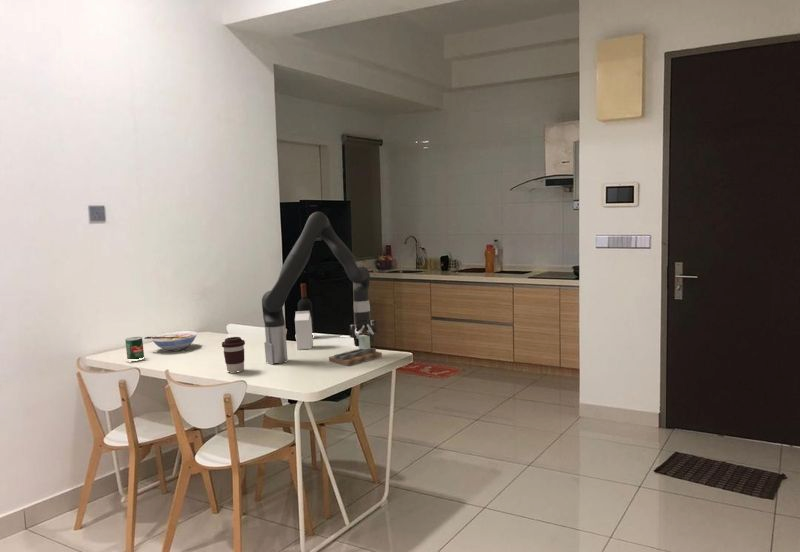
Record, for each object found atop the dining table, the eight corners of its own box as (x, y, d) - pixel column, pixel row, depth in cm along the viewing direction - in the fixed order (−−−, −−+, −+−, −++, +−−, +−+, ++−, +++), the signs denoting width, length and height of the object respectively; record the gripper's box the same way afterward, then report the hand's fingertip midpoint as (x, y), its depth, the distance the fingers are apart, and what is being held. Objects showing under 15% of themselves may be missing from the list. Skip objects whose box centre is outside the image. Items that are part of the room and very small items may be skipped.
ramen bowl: (208, 344, 343) (207, 329, 342) (184, 354, 321) (182, 339, 320) (168, 344, 350) (166, 329, 349) (141, 354, 328) (140, 339, 327)
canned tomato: (138, 362, 311) (135, 340, 310) (124, 362, 313) (121, 340, 311) (147, 358, 319) (145, 336, 318) (133, 358, 320) (131, 336, 319)
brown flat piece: (347, 366, 280) (347, 358, 280) (329, 361, 291) (328, 353, 290) (381, 356, 294) (381, 349, 293) (362, 352, 304) (362, 345, 304)
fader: (365, 353, 293) (364, 337, 292) (358, 351, 296) (357, 335, 296) (370, 352, 295) (369, 335, 294) (363, 350, 298) (362, 334, 298)
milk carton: (311, 349, 317) (308, 312, 315) (297, 350, 318) (294, 312, 315) (313, 346, 325) (310, 309, 322) (299, 346, 325) (296, 310, 323)
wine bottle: (301, 340, 340) (296, 285, 336) (299, 337, 347) (295, 283, 344) (315, 338, 342) (311, 283, 338) (313, 336, 349) (309, 282, 346)
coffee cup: (238, 367, 289) (235, 335, 288) (251, 370, 283) (248, 337, 281) (219, 372, 282) (216, 339, 280) (233, 375, 275) (230, 341, 274)
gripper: (368, 307, 301) (370, 340, 303) (344, 311, 291) (347, 346, 293) (378, 308, 295) (381, 342, 297) (354, 313, 286) (357, 348, 288)
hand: (364, 344), depth 295 cm, fingers open, 8 cm apart
